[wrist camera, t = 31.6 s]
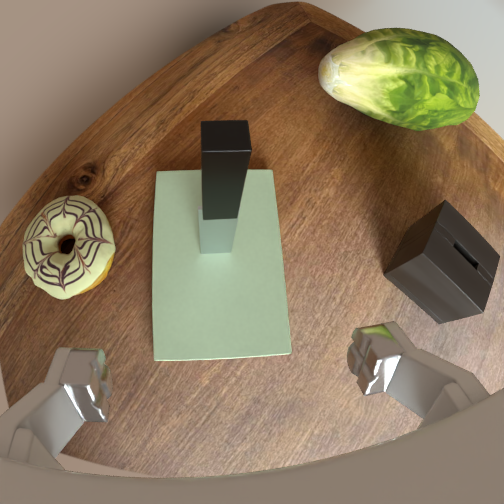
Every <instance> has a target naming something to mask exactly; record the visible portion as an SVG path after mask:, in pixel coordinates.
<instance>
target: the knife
mask: <svg viewBox="0 0 504 504" xmlns="http://www.w3.org/2000/svg"><path fill="white" fill-rule="evenodd" d="M251 152H252V148H251V140H250V132H249V125H248V121H247V120H224V121H201V191H202V206H198V219H199V235H200V250H201V254H214V253H230V252H231V250H232V246H233V241H234V236H235V231H236V227H237V222H238V217H239V213H240V208H241V206H240V203H241V198H242V194H243V189H244V184H245V179H246V175H247V170H248V165H249V161H250V156H251Z"/></svg>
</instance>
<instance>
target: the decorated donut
mask: <svg viewBox="0 0 504 504" xmlns="http://www.w3.org/2000/svg"><path fill="white" fill-rule="evenodd" d="M69 238H71V239H73V238H74V239H75V240H76V242H75V245H74V248H73V250H72V252H71V253H70V254H64V253H63V254H62V253H61V244H62V243H63V241H65V240H67V239H69ZM114 254H115V244H114V239H113V233H112V229H111V225H110V223H109V221H108V219H107V217H106V215H105V214H104V213H103V211H102V210H101V209H100V208H99V207H98V206H97V205H96V204H95V203H94V202H93V201H91V200H89V199H87V198H85V197H83V196H78V195H76V196H65V197H60V198H57V199H55V200H53V201H52V202H50V203H49V204H47V205H46V206H45V207H44V208H43V209H42V210H41V211H40V212H39V213H38V214H37V216H36V217H35V218H34V219H33V220H32V221H31V223H30V224H29V226H28V228H27V229H26V232H25V235H24V242H23V258H24V266H25V270H26V272H27V274H28V275H29V276H30V277H31V278H32V279H33V282H34V284H35V285H36V286H38V287H40V288H42V289H44V290H45V291H46V292H47V293H49V294H50V295H51V296H53V297H55V298H58V299H68V298H70V297H72V296H73V295H78V294H81V293H84V292H87V291H89V290H91V289H93V288H94V287H96V286H97V285H99V284H100V283H101V282H102V280H104V279H105V278H106V276H107V274H108V271H109V269H110V267H111V265H112V262H113V258H114Z"/></svg>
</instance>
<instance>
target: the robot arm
mask: <svg viewBox="0 0 504 504" xmlns="http://www.w3.org/2000/svg"><path fill="white" fill-rule="evenodd" d="M351 338H352V339H353V341H354V342H353V343H352V344H351V345H350V347H349V348H348V352H347V363H348V366H349V369H350V371H351V373H353V374H354V375H356V376H358V380H357V384H358V385H359V387H360V389H361V391H362V393H363V395H364V396H367V395H371V394H375V393H380V392H384V391H386V393H387V394H389V395H390V396H391V397H393V398H394V399H396V400H397V401H399V402H400V403H401V404H403V405H404V406H406V407H407V408H409V409H410V410H411V411H413V412H414V413H416V414H417V415H419V416H420V417H421V418H423V420H422V422H421V423H420V425H419V426H418V428H417V430H415V431H412V432H410V433H407V434H404V435H402V436H399V437H396V438H393V439H390V440H388V441H385V442H382V443H379V444H375V445H372V446H369V447H366V448H363V449H359V450H356V451H352V452H349V453H345V454H341V455H337V456H334V457H330V458H325V459H321V460H317V461H312V462H308V463H303V464H298V465H293V466H287V467H282V468H276V469H270V470H263V471H256V472H248V473H240V474H230V475H219V476H206V477H185V478H141V477H120V476H108V475H97V474H88V473H79V472H73V471H66V470H65V469H64V468H63V467H62V466H61V465H60V464H59V463H58V461H57V460H56V459H55V458H56V457H57V455H58V454H59V453H60V452H61V450H62V449H63V448H64V447H65V445H66V444H67V443H68V442H69V440H70V439H71V438H72V437H73V435H74V434H75V433H76V432H77V430H78V429H79V428H80V427H81V425H82V424H83V423H84V422H83V421H87V422H108V415H109V409H110V405H109V403H108V401H107V399H108V398H109V397H110V396H111V395H112V389H113V383H112V375H111V371H110V369H109V367H108V366H107V365H105V364H104V363H105V358H106V357H105V355H104V352H103V350H101V349H92V348H64V347H59V348H58V349H57V350H56V352H55V355H54V357H53V360H52V362H51V365H50V368H49V370H48V373H47V376H46V379H45V381H44V383H39V384H38V385H37V386H36V387H35V388H33V389H32V390H31V391H30V392H28V393H27V394H26V395H25V396H24V397H22V398H21V399H20V400H19V401H18V402H16V403H15V404H14V405H13V406H12V407H10V408H9V409H8V410H7V411H6V412H5V413H3V414H2V415H1V416H0V504H504V388H502V389H501V390H499V391H497V392H495V393H494V394H492V395H490V394H489V393H488V392H487V391H486V389H485V388H484V387H483V385H482V384H481V383H480V382H479V380H478V379H477V378H476V377H475V375H474V374H473V373H471V372H469V371H467V370H465V369H463V368H460V367H458V366H456V365H454V364H452V363H450V362H448V361H446V360H443V359H441V358H439V357H437V356H435V355H433V354H431V353H429V352H427V351H424V350H422V349H417V348H416V347H415V346H414V344H413V343H412V342H411V340H410V339H409V338H408V337H407V335H406V334H405V333H404V332H403V330H402V329H401V328H400V327H399V325H398V324H397V323H396V322H394V321H392V322H387V323H382V324H377V325H372V326H366V327H361V328H356V329H355V330H354V331H353V334H352V337H351Z"/></svg>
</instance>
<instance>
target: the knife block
mask: <svg viewBox="0 0 504 504" xmlns="http://www.w3.org/2000/svg"><path fill="white" fill-rule="evenodd" d="M499 259H500V256H499V254H498V253H497V252H496V251H495V250H494V249H493V248H492V247H491V245H490V244H489V243H488V242H487V241H486V240H485V239H484V238H483V237H482V236H481V235H480V234H479V232H478V231H477V230H476V229H475V228H474V227H473V226H472V225H471V224H470V223H469V222H468V221H467V220H466V219H465V218H464V217H463V216H462V215H461V214H460V213H459V212H458V211H457V210H456V209H455V208H454V207H453V206H452V205H451V204H450V203H449V202H447V201H446V200H444V201H443V202H442V203H440V204H439V205H438V206H437V207H435V208H434V209H433V210H431V211H430V212H429V213H427V214H426V215H425V216H423V217H422V218H421V219H419V220H418V221H417V222H415V223H414V224H413V225H411V226H410V227H409V228H408V230H407V232H406V234H405V236H404V238H403V240H402V242H401V243H400V245H399V247H398V249H397V251H396V253H395V255H394V256H393V258H392V260H391V262H390V264H389V266H388V267H387V269H386V271H385V273H384V274H383V275H384V276H385V277H386V278H387V279H388V280H389V281H391V282H392V283H393V284H394V285H395V286H396V287H398V288H399V289H400V290H401V291H402V292H403V293H405V294H406V295H407V296H408V297H409V298H410V299H411V300H413V301H414V302H415V303H416V304H417V305H418V306H419V307H421V308H422V309H423V310H424V311H425V312H426V313H427V314H428V315H430V316H431V317H432V318H433V319H434V320H435V321H436V322H437V323H438V324H442V323H446V322H450V321H454V320H458V319H462V318H466V317H470V316H473V315H477V314H481V313H483V312H484V310H485V307H486V304H487V300H488V297H489V294H490V291H491V288H492V285H493V281H494V277H495V274H496V270H497V267H498V263H499Z"/></svg>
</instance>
